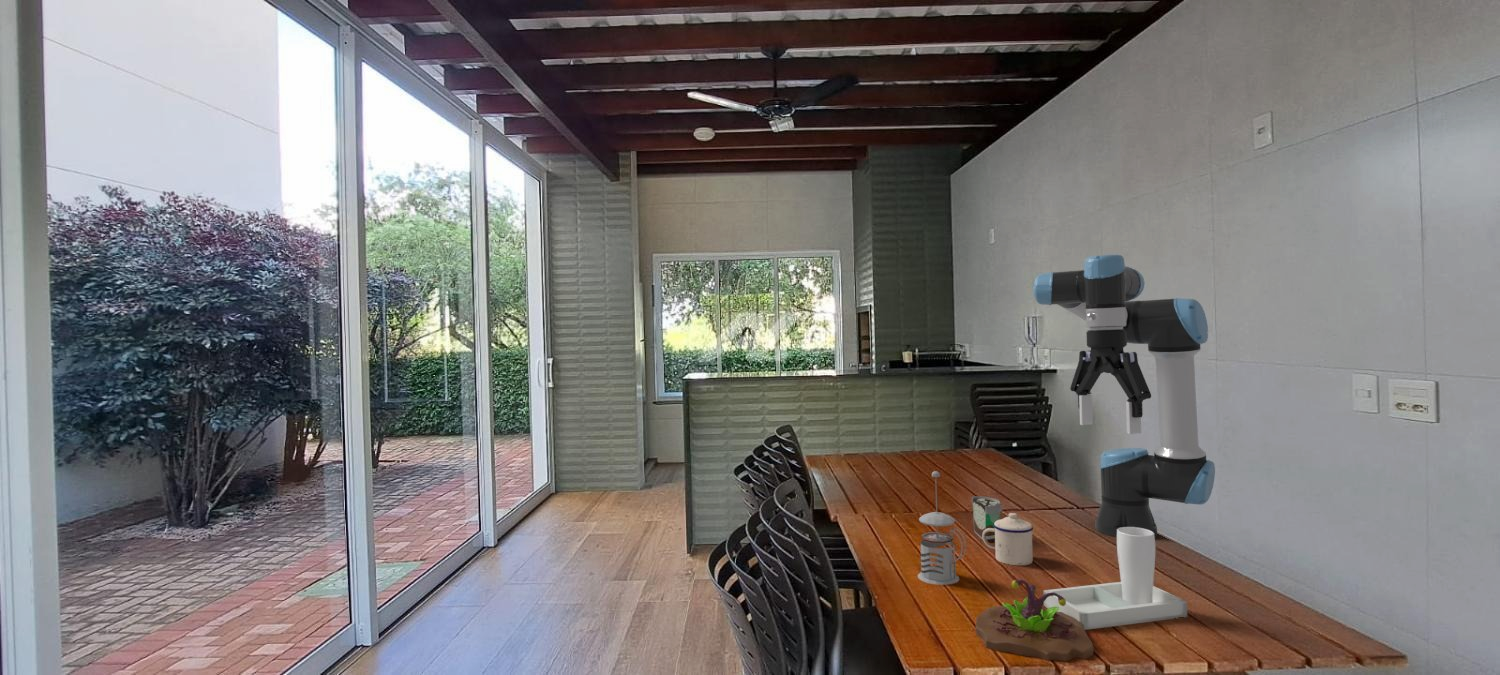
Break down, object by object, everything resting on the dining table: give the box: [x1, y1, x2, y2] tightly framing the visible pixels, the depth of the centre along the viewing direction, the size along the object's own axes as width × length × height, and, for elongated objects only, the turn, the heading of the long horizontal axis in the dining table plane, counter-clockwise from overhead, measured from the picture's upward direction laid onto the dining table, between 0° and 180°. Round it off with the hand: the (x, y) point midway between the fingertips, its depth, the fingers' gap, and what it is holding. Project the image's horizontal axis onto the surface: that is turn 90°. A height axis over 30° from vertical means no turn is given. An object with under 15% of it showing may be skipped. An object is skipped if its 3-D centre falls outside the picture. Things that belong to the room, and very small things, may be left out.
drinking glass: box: [1116, 527, 1156, 605], centre depth 135 cm, size 7×7×15 cm
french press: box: [917, 470, 967, 586], centre depth 155 cm, size 10×12×25 cm
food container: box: [971, 495, 1003, 543], centre depth 186 cm, size 12×6×10 cm, turn 179°
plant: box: [975, 579, 1094, 662], centre depth 125 cm, size 20×20×11 cm
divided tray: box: [1042, 581, 1188, 631], centre depth 134 cm, size 23×12×4 cm, turn 101°
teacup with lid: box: [982, 512, 1034, 567], centre depth 167 cm, size 12×9×12 cm
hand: (1109, 428), depth 142 cm, fingers open, 13 cm apart
